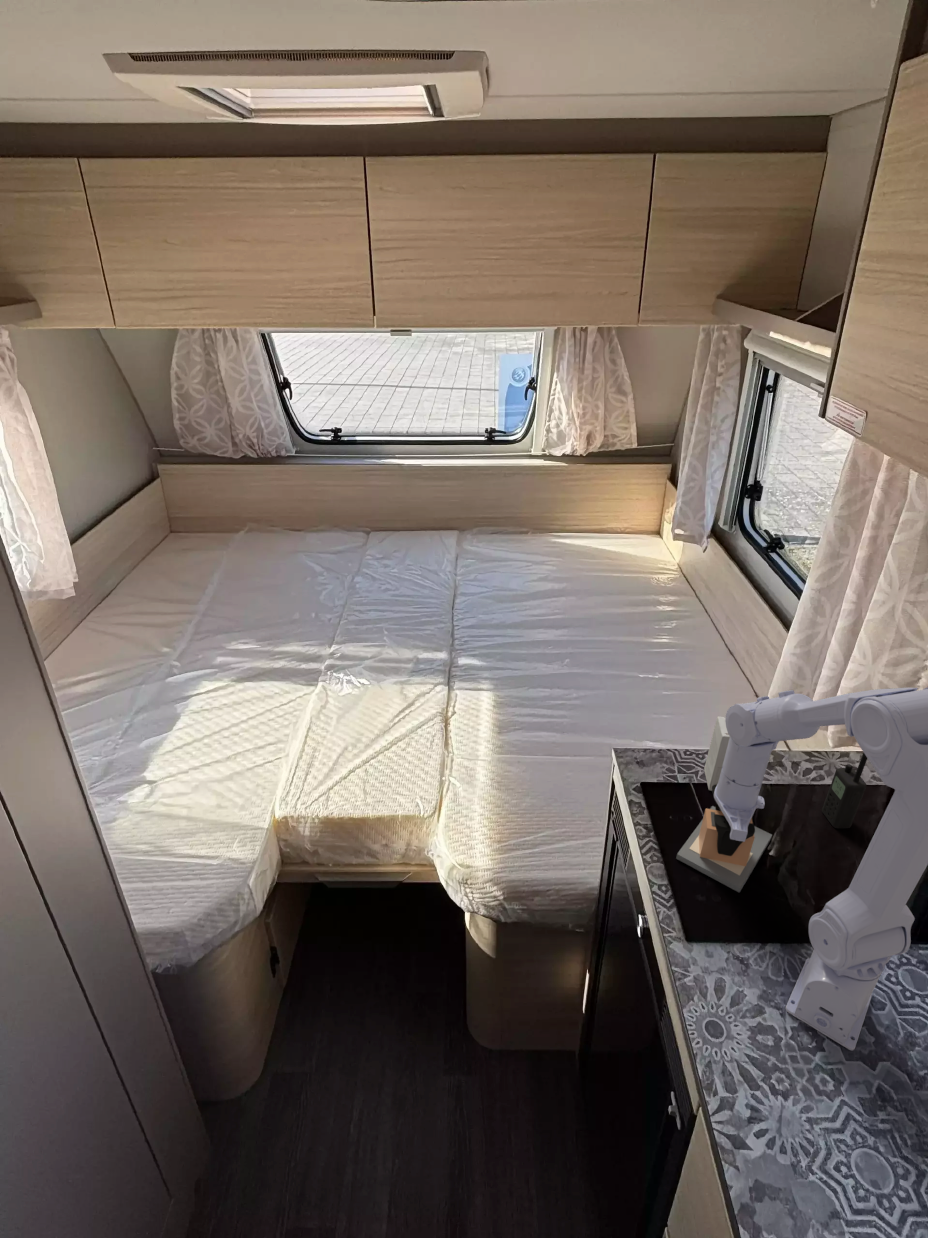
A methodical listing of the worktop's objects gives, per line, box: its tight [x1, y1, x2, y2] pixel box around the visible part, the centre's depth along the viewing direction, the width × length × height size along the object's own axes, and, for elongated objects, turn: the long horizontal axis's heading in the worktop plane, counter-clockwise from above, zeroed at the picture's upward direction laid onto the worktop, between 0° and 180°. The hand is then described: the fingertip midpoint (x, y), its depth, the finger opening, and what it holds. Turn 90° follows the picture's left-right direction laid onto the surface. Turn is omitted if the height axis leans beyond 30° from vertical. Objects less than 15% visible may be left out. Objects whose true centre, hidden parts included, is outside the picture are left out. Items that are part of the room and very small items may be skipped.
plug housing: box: [699, 807, 755, 866], centre depth 108 cm, size 4×7×6 cm, turn 76°
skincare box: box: [703, 715, 730, 792], centre depth 123 cm, size 6×4×12 cm
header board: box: [675, 805, 773, 893], centre depth 110 cm, size 14×10×4 cm
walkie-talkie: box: [821, 751, 868, 829], centre depth 114 cm, size 5×3×15 cm
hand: (723, 841), depth 109 cm, fingers closed on plug housing, 4 cm apart
